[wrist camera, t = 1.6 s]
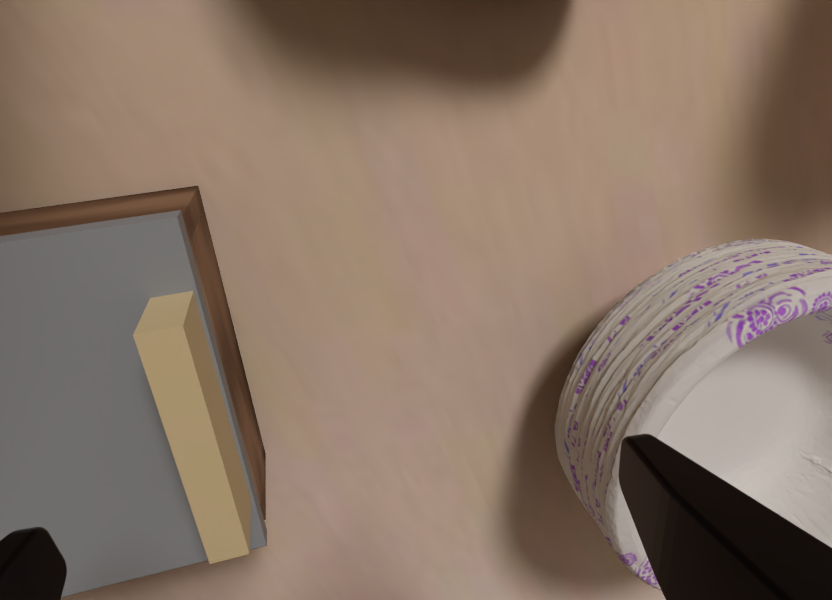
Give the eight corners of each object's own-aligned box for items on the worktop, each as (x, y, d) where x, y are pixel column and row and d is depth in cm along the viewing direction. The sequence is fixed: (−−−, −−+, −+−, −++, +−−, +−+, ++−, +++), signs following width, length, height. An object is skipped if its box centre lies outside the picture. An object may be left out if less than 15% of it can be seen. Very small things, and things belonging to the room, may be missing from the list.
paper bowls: (515, 505, 30) (591, 643, 23) (540, 227, 24) (653, 299, 17) (757, 461, 34) (888, 571, 27) (832, 207, 28) (1028, 260, 21)
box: (265, 453, 25) (265, 519, 22) (-91, 533, 23) (-157, 621, 19) (198, 185, 20) (183, 214, 17) (-267, 250, 18) (-399, 298, 14)
